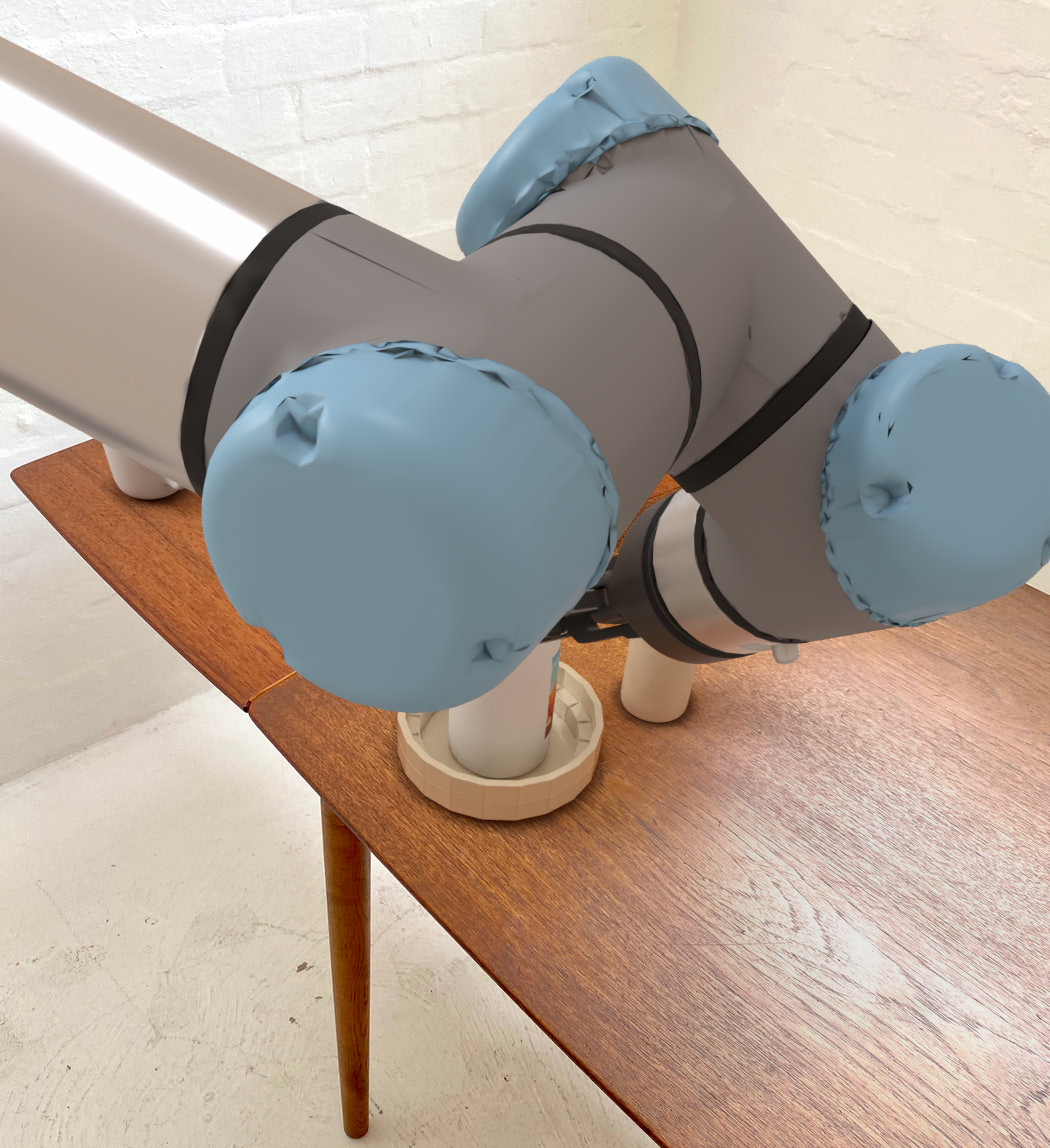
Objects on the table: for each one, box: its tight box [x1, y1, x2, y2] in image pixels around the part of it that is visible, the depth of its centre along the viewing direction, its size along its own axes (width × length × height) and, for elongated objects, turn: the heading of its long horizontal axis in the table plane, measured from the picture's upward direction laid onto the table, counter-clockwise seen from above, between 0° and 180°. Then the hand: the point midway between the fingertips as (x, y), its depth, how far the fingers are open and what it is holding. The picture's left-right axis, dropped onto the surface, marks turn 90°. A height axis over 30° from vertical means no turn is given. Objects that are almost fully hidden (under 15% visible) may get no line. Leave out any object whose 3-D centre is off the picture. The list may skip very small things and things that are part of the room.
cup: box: [101, 443, 186, 500], centre depth 105 cm, size 11×8×8 cm
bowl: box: [396, 660, 605, 821], centre depth 84 cm, size 15×15×4 cm
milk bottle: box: [448, 639, 562, 778], centre depth 78 cm, size 8×8×20 cm
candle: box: [620, 638, 698, 723], centre depth 87 cm, size 6×6×10 cm
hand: (567, 628), depth 65 cm, fingers open, 13 cm apart
